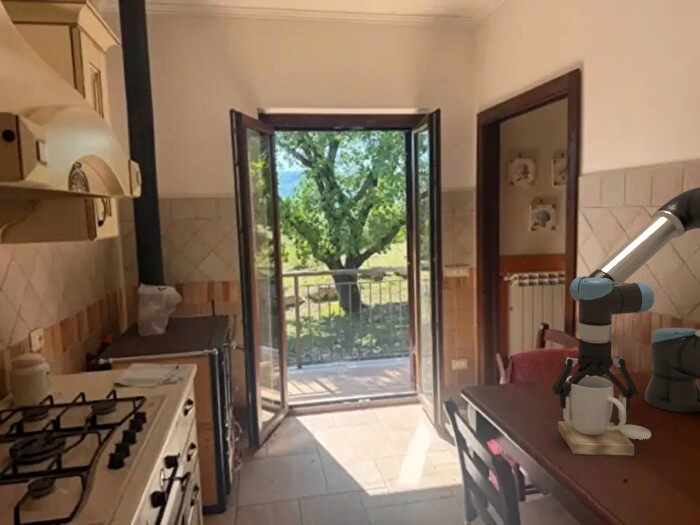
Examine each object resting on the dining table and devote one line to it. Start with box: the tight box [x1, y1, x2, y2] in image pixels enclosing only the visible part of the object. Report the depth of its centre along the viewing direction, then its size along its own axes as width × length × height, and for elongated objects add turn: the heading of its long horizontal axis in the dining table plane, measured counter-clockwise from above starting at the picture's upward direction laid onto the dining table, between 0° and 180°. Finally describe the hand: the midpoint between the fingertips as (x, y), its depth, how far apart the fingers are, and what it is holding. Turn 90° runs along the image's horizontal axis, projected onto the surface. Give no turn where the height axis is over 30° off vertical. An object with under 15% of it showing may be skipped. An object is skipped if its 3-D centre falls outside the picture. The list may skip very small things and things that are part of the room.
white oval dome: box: [619, 423, 652, 441], centre depth 137 cm, size 8×8×1 cm
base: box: [557, 420, 635, 456], centre depth 132 cm, size 14×14×3 cm
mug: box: [565, 375, 627, 435], centre depth 131 cm, size 15×11×13 cm
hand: (594, 420), depth 132 cm, fingers open, 13 cm apart
